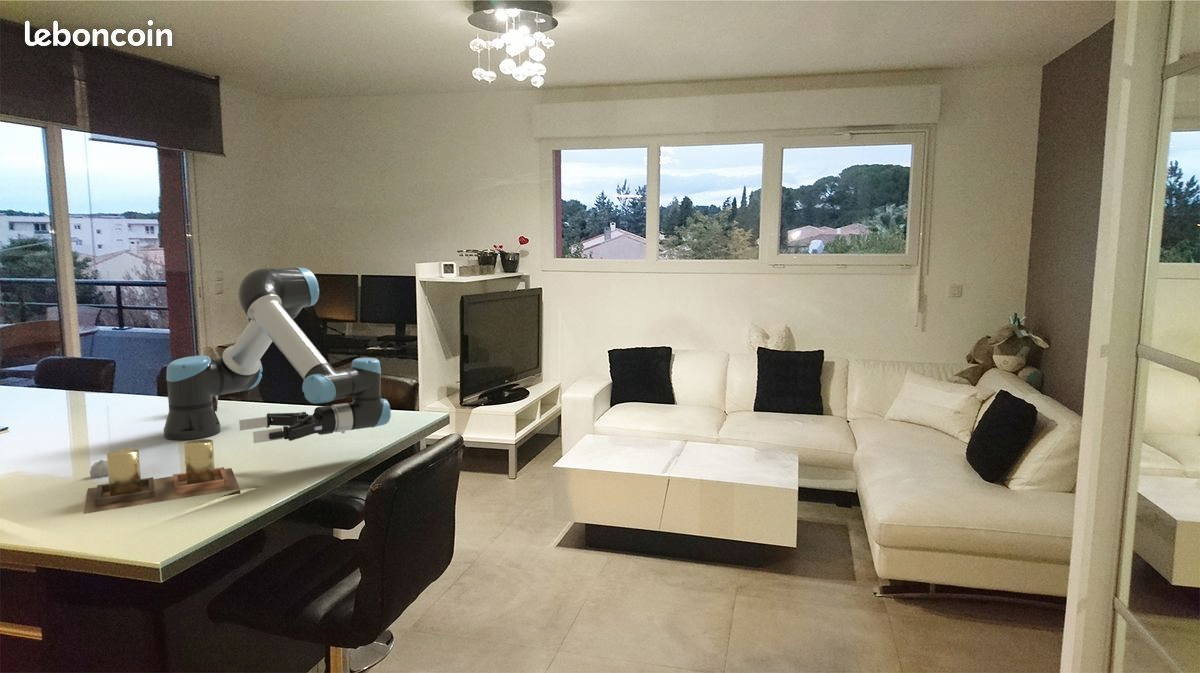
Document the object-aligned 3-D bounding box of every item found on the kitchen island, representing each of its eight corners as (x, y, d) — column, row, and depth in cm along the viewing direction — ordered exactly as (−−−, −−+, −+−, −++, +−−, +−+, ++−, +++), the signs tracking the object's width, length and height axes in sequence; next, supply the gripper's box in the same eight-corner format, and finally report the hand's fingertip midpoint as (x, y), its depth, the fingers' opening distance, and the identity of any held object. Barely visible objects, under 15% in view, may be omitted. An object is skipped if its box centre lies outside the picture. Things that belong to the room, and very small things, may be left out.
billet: (104, 496, 160) (100, 453, 159) (131, 488, 166) (128, 447, 164) (120, 500, 158) (117, 457, 156) (147, 492, 163) (144, 450, 162)
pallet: (83, 519, 150) (82, 506, 150) (88, 493, 165) (87, 482, 165) (240, 493, 167) (239, 482, 166) (231, 472, 182) (231, 462, 181)
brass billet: (181, 484, 168) (178, 444, 167) (204, 477, 174) (201, 438, 173) (197, 488, 166) (195, 447, 165) (220, 481, 171) (218, 441, 170)
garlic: (103, 483, 172) (101, 463, 171) (84, 482, 173) (82, 461, 172) (123, 475, 178) (122, 455, 177) (105, 474, 179) (103, 454, 178)
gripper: (349, 443, 181) (260, 458, 168) (317, 422, 200) (235, 433, 187) (348, 415, 180) (259, 427, 167) (316, 396, 199) (233, 406, 186)
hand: (246, 431), depth 177 cm, fingers open, 13 cm apart
